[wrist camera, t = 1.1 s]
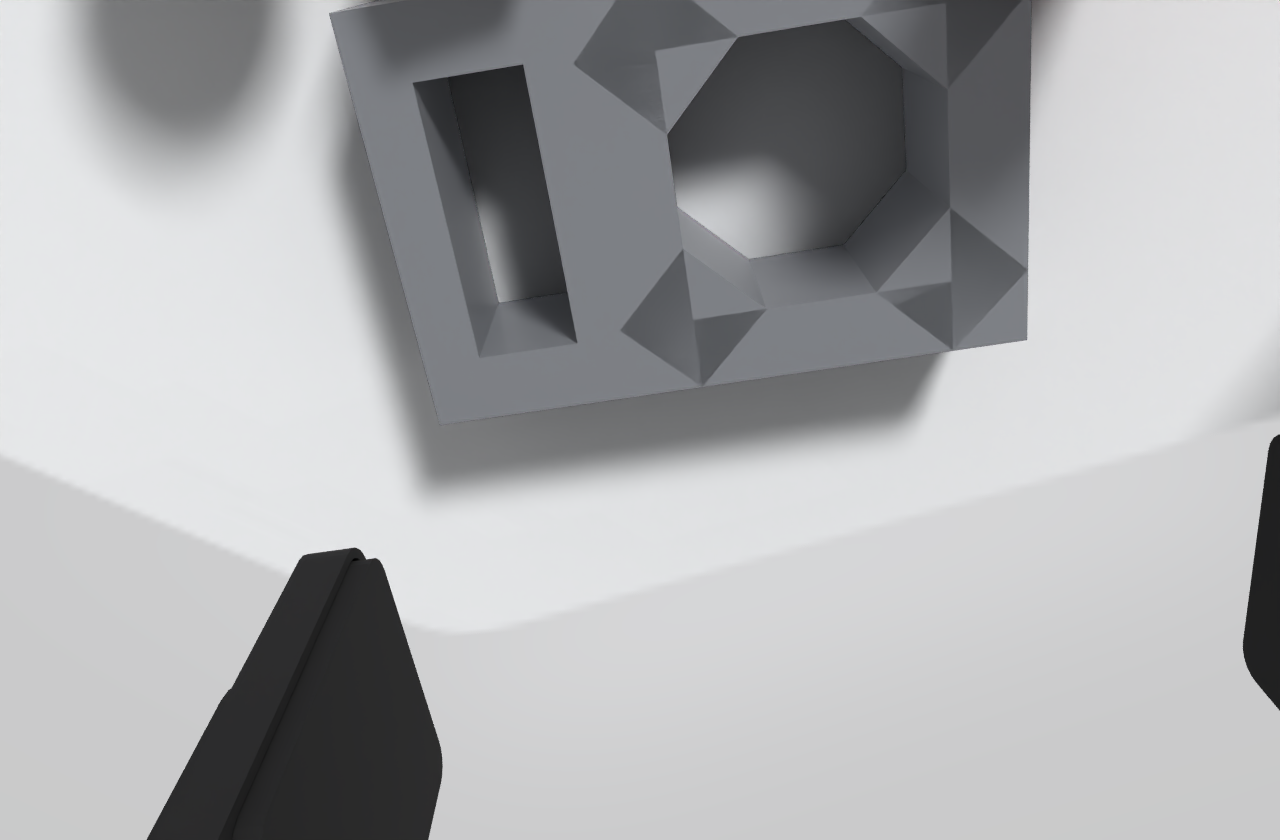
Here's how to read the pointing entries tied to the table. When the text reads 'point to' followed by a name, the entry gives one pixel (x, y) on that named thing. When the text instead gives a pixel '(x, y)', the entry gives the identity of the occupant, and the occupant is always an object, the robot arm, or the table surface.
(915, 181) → the holder
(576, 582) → the table surface
